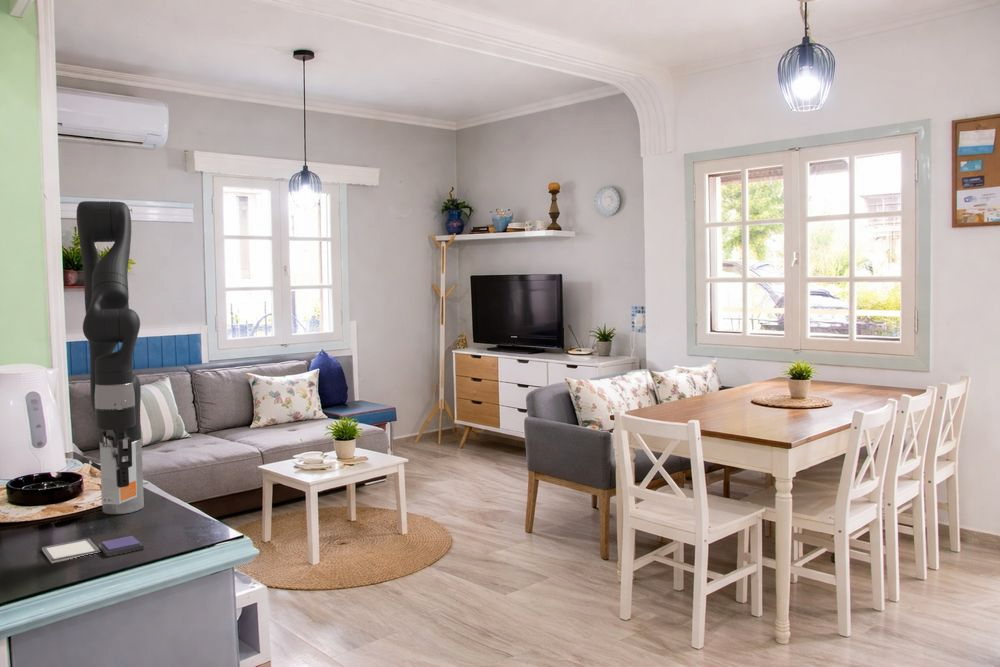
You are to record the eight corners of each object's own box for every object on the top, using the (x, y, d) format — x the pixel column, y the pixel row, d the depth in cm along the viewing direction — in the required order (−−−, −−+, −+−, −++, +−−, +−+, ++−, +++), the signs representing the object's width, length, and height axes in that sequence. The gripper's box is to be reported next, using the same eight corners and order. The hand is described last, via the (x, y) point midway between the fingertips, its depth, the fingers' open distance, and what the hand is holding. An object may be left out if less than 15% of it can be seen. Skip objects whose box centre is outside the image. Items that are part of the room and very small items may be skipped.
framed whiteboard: (42, 549, 168) (42, 547, 168) (89, 540, 173) (89, 538, 173) (51, 563, 160) (51, 560, 160) (100, 553, 166) (100, 550, 166)
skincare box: (119, 505, 164) (116, 447, 163) (101, 504, 165) (98, 447, 164) (138, 497, 170) (136, 441, 169) (120, 496, 171) (118, 441, 170)
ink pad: (99, 548, 169) (98, 541, 169) (134, 541, 173) (133, 534, 173) (107, 557, 163) (107, 550, 163) (143, 549, 168) (143, 543, 168)
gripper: (87, 402, 169) (90, 479, 170) (104, 411, 158) (107, 493, 159) (125, 398, 174) (128, 473, 175) (144, 407, 163) (147, 487, 164)
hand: (118, 482), depth 167 cm, fingers closed on skincare box, 7 cm apart
